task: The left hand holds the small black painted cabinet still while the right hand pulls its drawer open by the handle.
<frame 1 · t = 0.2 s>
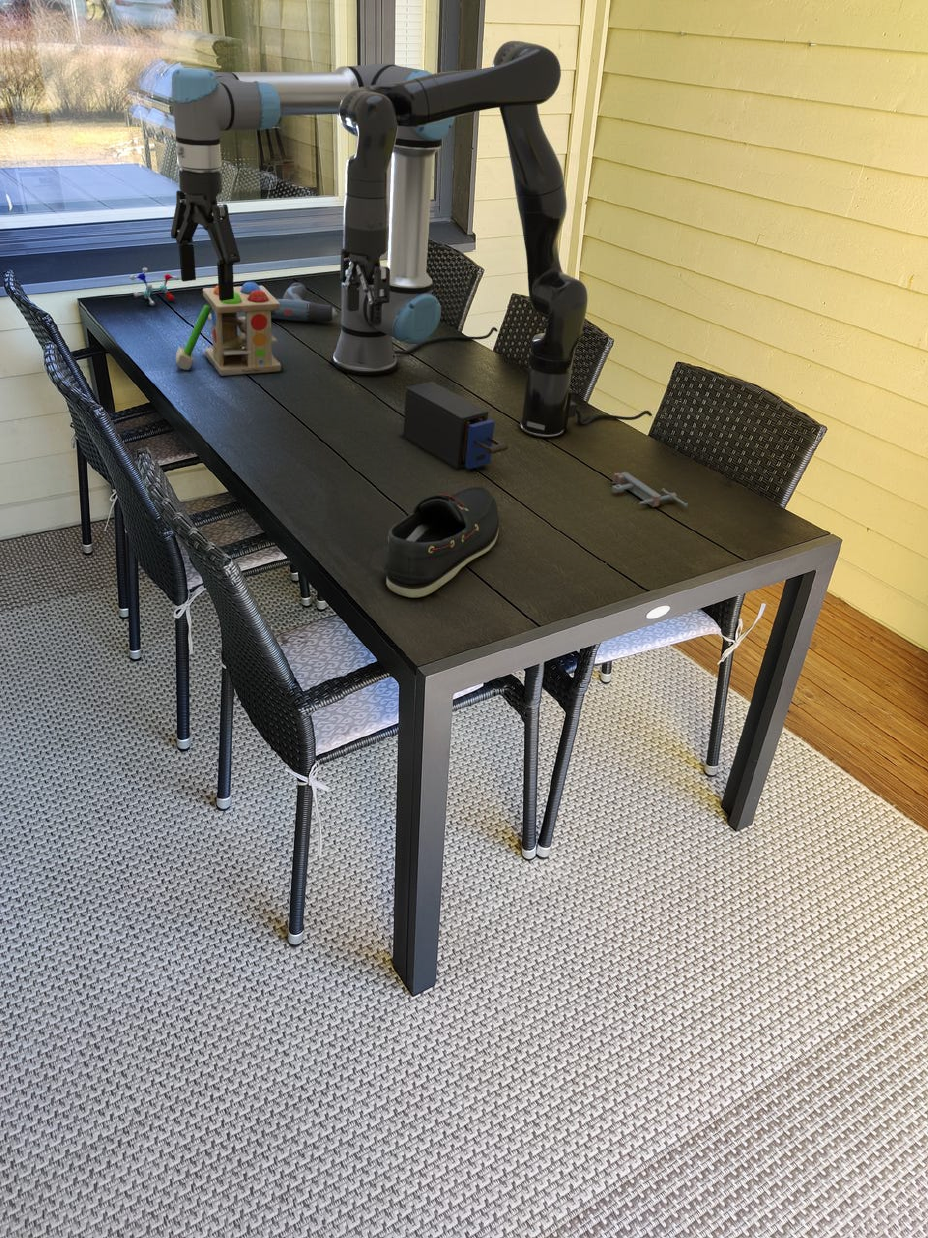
left hand: (207, 289, 186), 28 cm above the table, tool pointing down, fingers open, 13 cm apart
right hand: (363, 317, 176), 29 cm above the table, tool pointing down, fingers open, 8 cm apart
power drill: (305, 313, 267), on the table
molecular model: (153, 300, 265), on the table
cabinet: (442, 448, 202), on the table
clamp: (643, 498, 191), on the table
pounding bench toy: (225, 365, 230), on the table
boat shoe: (443, 552, 167), on the table
drawer: (462, 434, 195), point 5 cm above the table, slide at 1.5 cm
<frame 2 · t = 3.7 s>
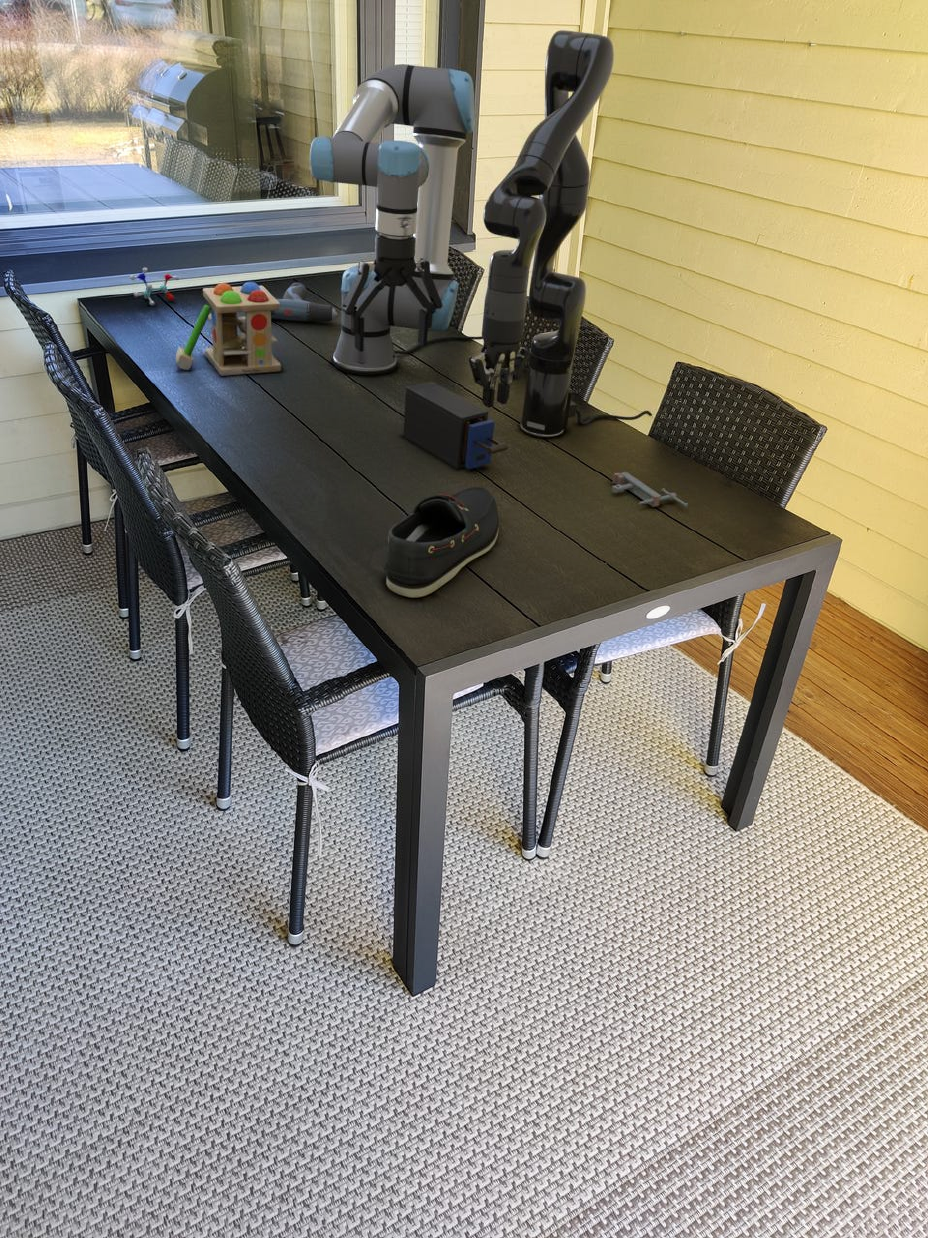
left hand: (391, 346, 193), 19 cm above the table, tool pointing down, fingers open, 13 cm apart
right hand: (494, 403, 185), 15 cm above the table, tool pointing down, fingers open, 3 cm apart
nothing on the table moved.
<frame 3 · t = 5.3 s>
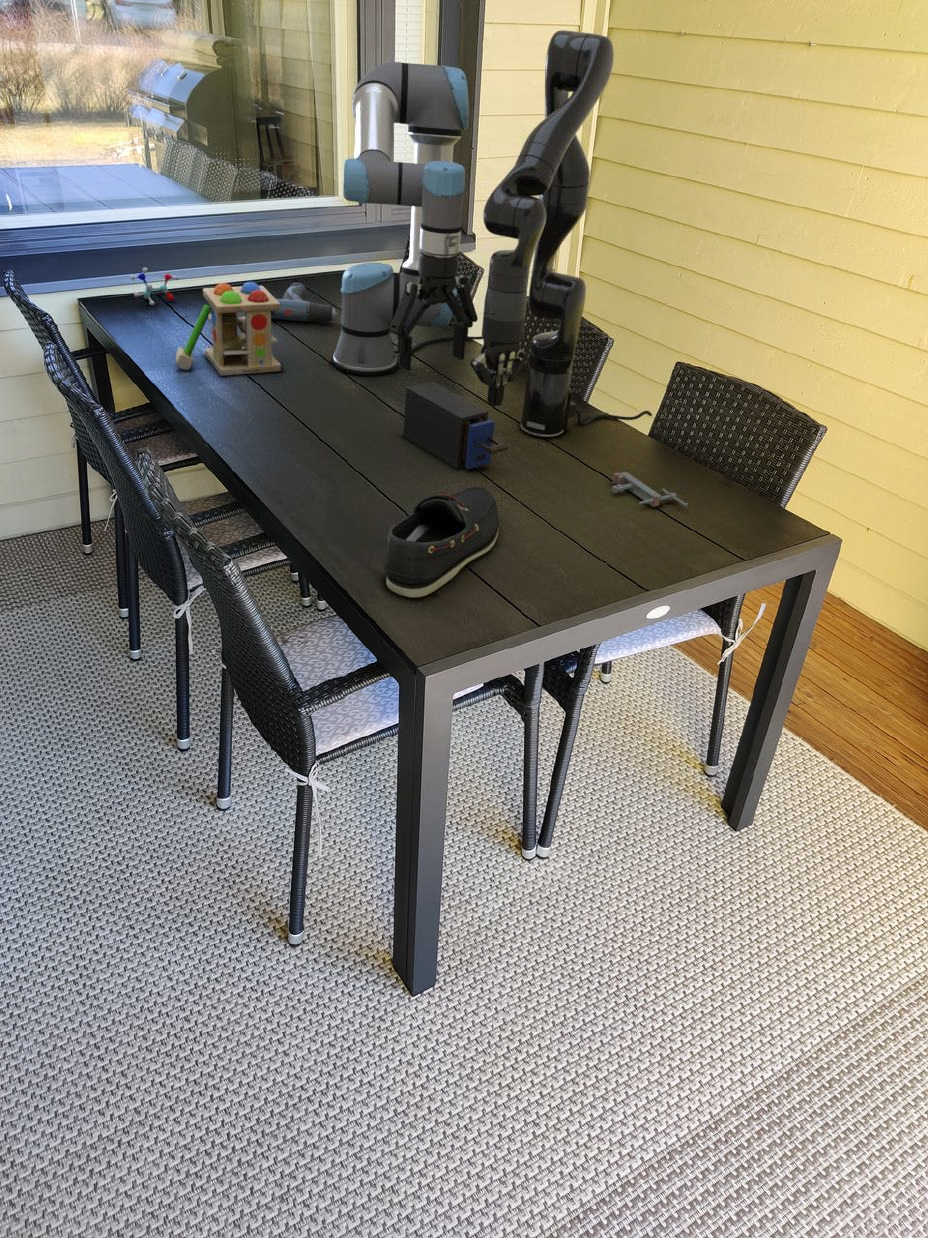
left hand: (431, 362, 196), 17 cm above the table, tool pointing down, fingers open, 13 cm apart
right hand: (494, 404, 185), 15 cm above the table, tool pointing down, fingers closed
nothing on the table moved.
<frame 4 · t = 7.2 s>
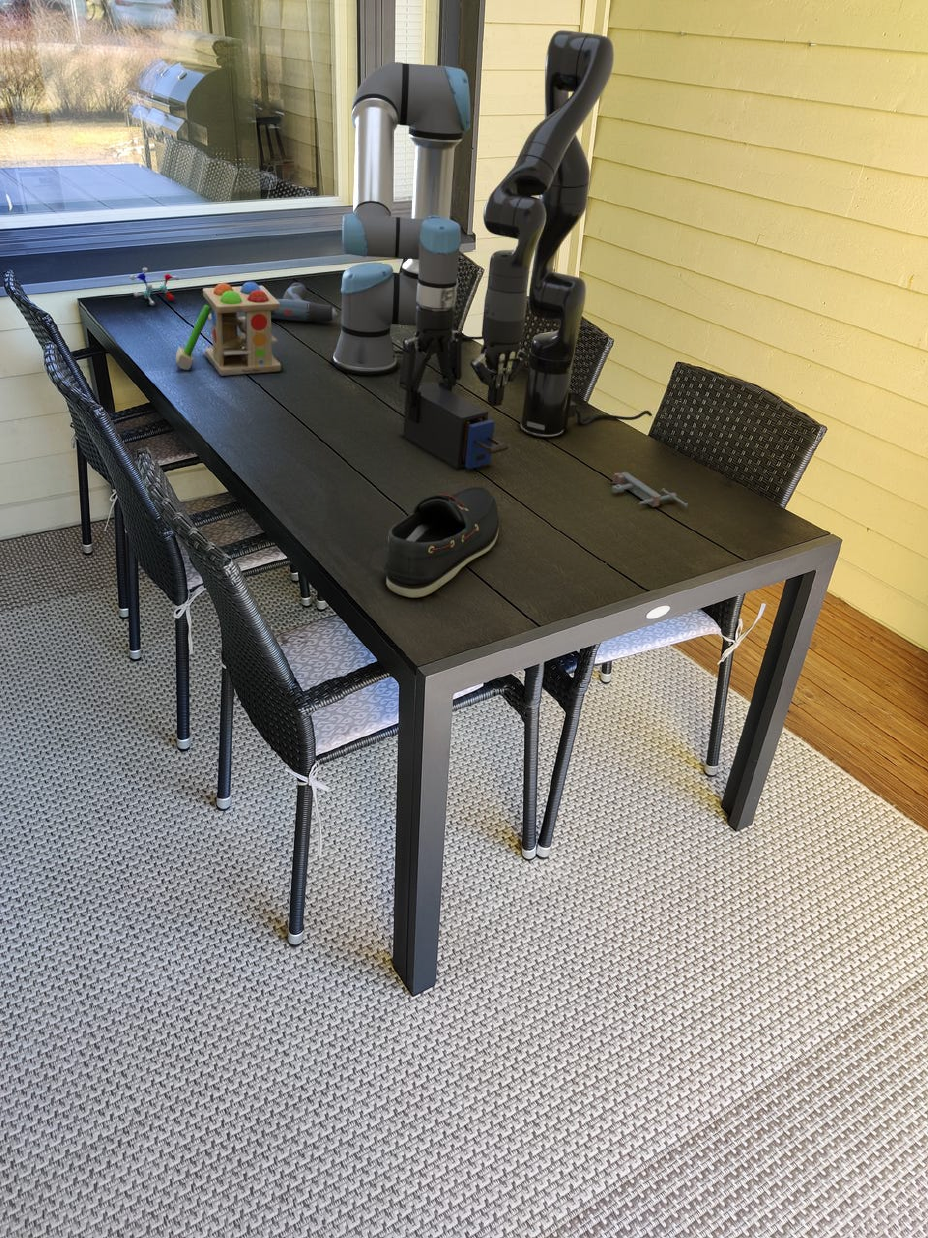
left hand: (428, 416, 202), 5 cm above the table, tool pointing down, fingers closed on cabinet, 7 cm apart
right hand: (494, 404, 185), 15 cm above the table, tool pointing down, fingers closed
cabinet: (442, 448, 202), on the table, touching left hand
everything else where it was.
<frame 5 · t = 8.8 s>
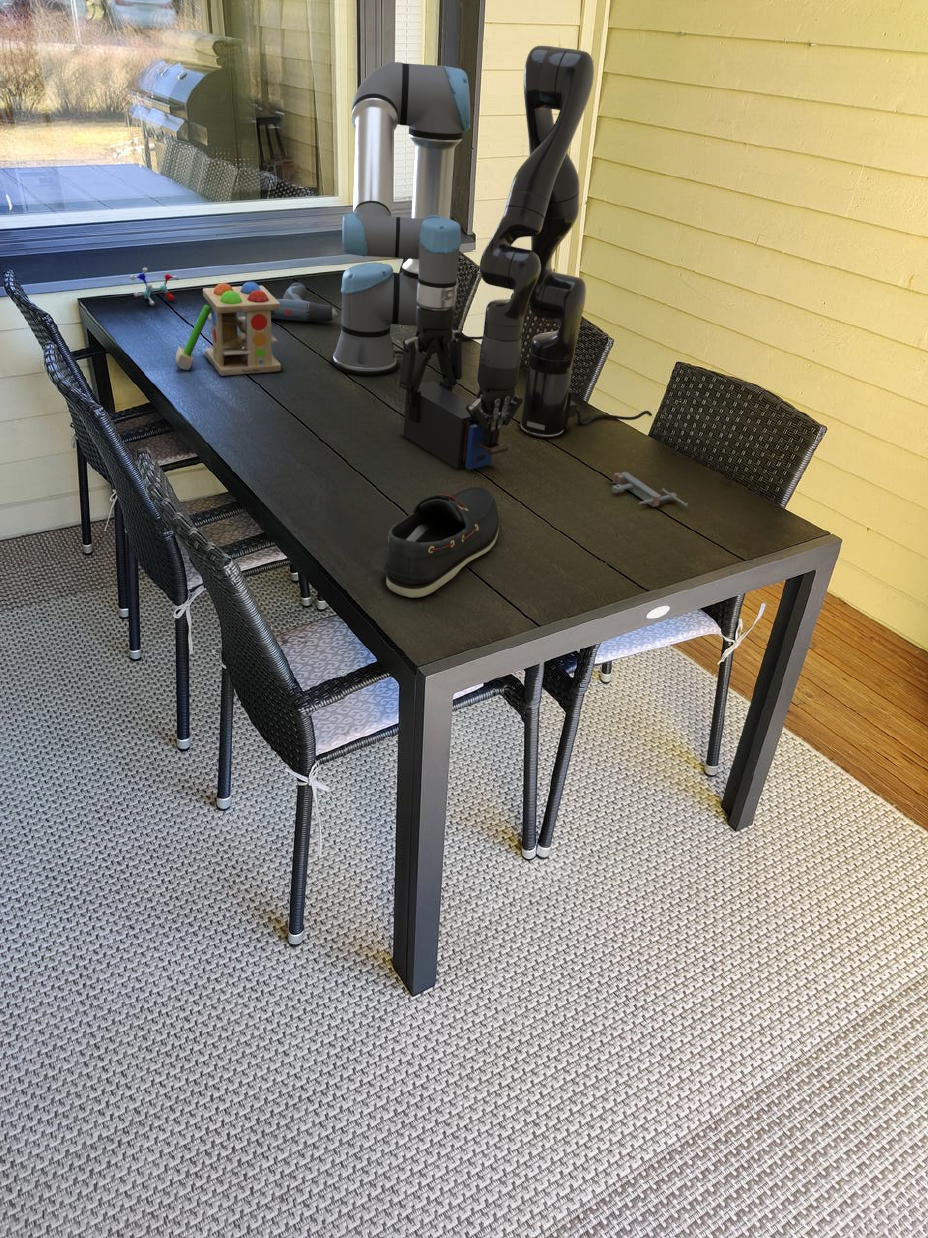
left hand: (428, 416, 202), 5 cm above the table, tool pointing down, fingers closed on cabinet, 7 cm apart
right hand: (490, 446, 190), 6 cm above the table, tool pointing down, fingers closed
cabinet: (442, 448, 202), on the table, touching left hand
drawer: (463, 435, 195), point 5 cm above the table, slide at 1.6 cm, touching right hand
everything else where it was.
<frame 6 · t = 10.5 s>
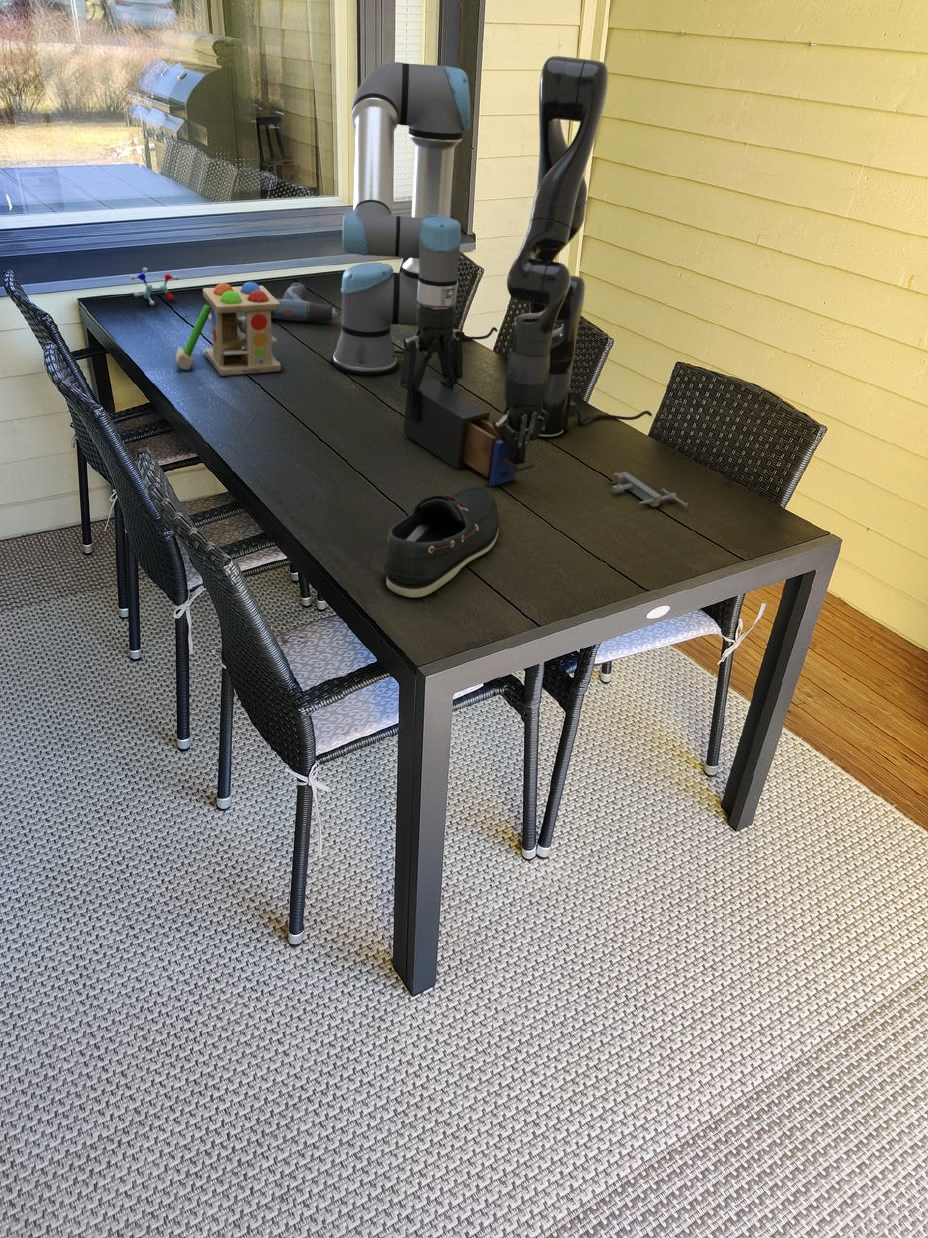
left hand: (429, 416, 202), 5 cm above the table, tool pointing down, fingers closed on cabinet, 7 cm apart
right hand: (516, 463, 185), 6 cm above the table, tool pointing down, fingers closed
cabinet: (442, 447, 202), on the table, touching left hand
drawer: (487, 449, 191), point 5 cm above the table, slide at 8.8 cm
everything else where it was.
when the left hand's fingers open (5 cm above the table, at t = 11.9 s): cabinet stays where it is, on the table.
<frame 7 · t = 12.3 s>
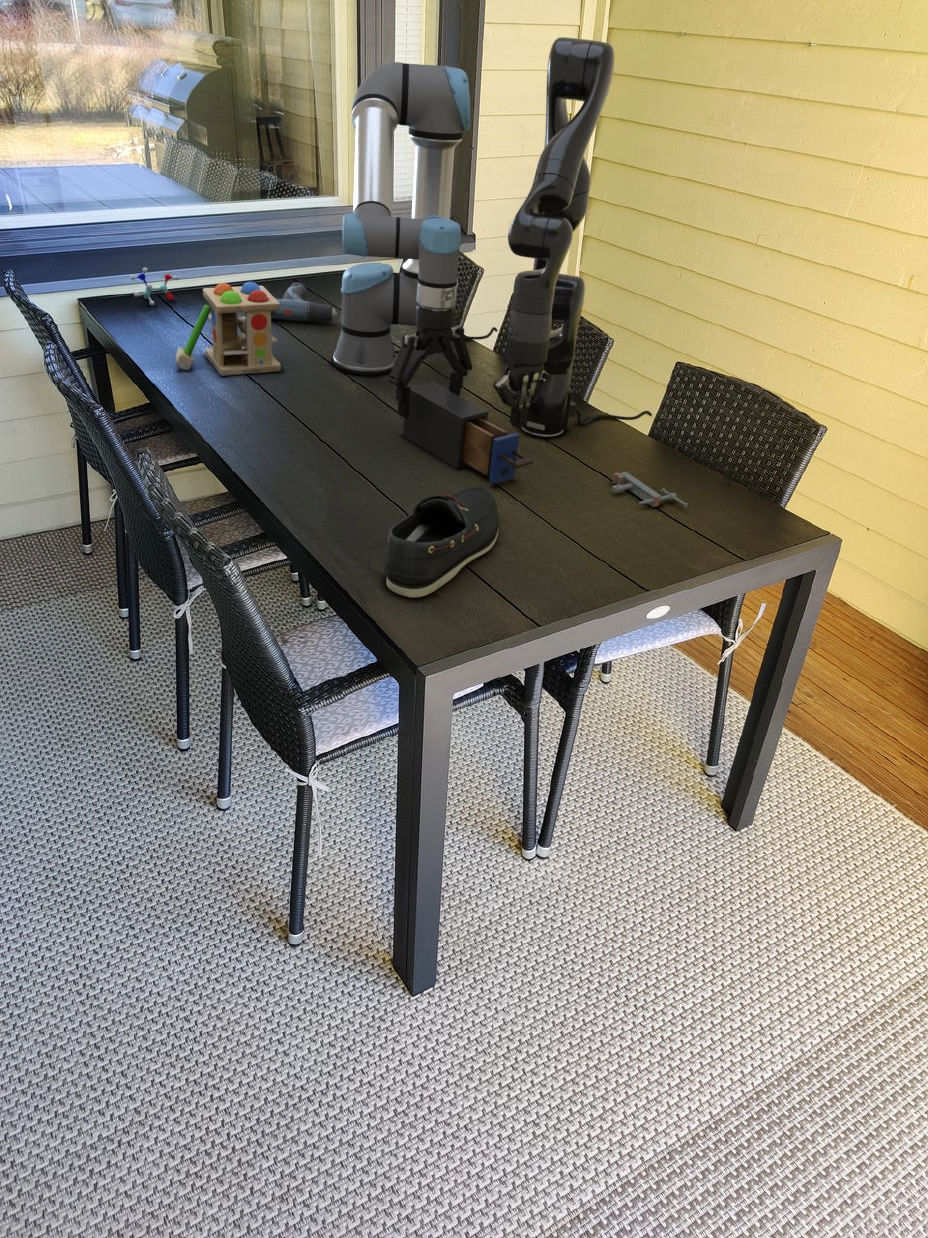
left hand: (428, 410, 201), 7 cm above the table, tool pointing down, fingers open, 12 cm apart
right hand: (517, 425, 182), 13 cm above the table, tool pointing down, fingers closed
cabinet: (442, 448, 202), on the table
everything else where it was.
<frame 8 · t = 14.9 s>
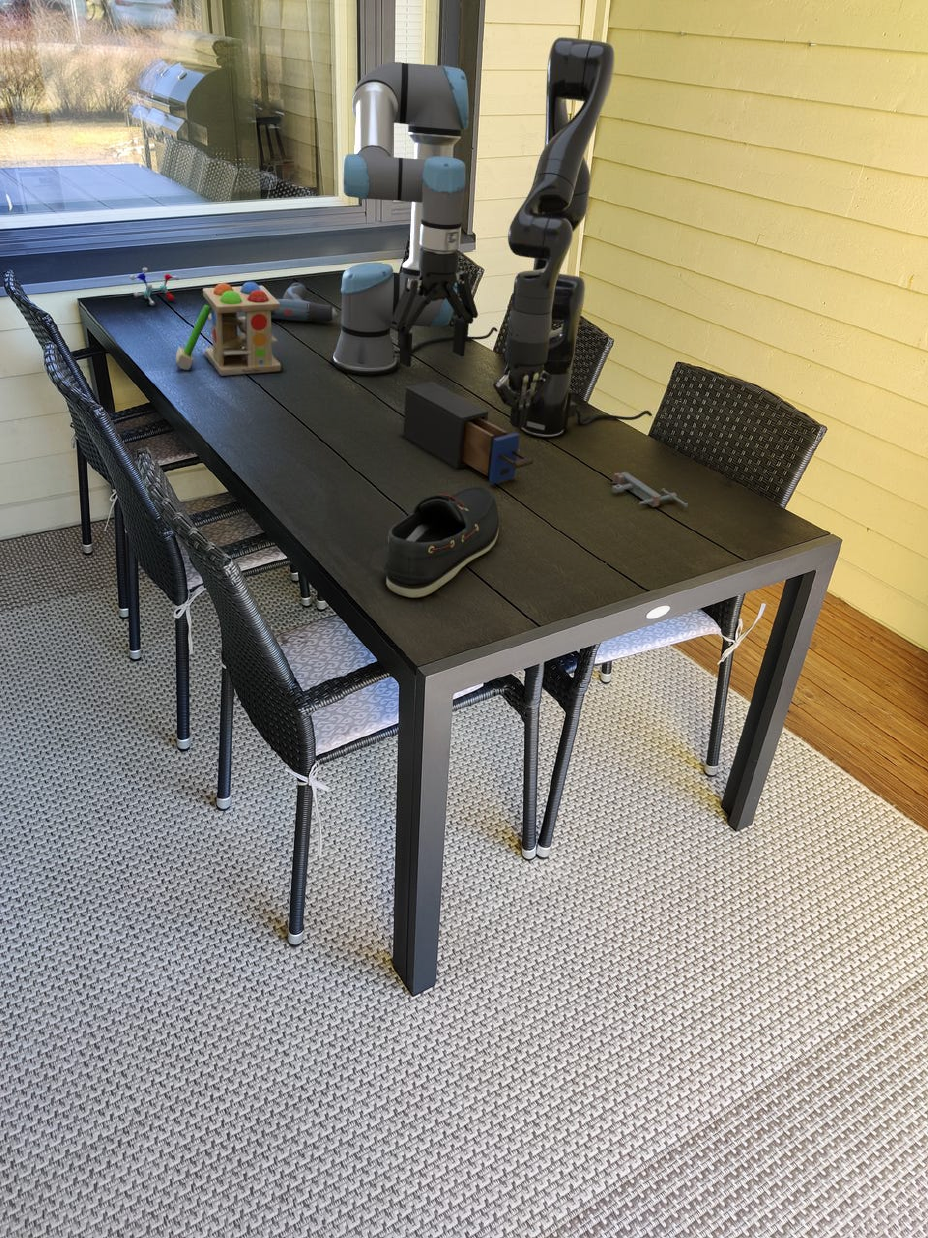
left hand: (432, 359, 195), 17 cm above the table, tool pointing down, fingers open, 13 cm apart
right hand: (517, 425, 182), 13 cm above the table, tool pointing down, fingers closed
nothing on the table moved.
at the end: drawer slide at 8.7 cm; cabinet tilted 0°; cabinet never tilted more than 3° during the clip; cabinet moved 0.0 cm from its start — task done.
